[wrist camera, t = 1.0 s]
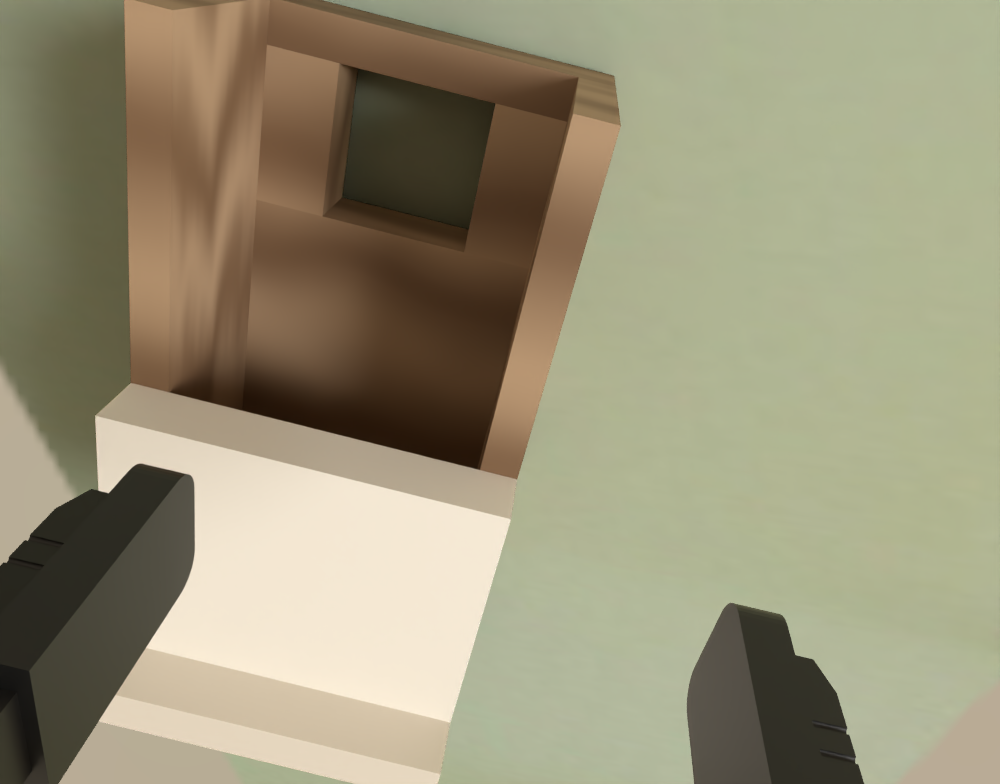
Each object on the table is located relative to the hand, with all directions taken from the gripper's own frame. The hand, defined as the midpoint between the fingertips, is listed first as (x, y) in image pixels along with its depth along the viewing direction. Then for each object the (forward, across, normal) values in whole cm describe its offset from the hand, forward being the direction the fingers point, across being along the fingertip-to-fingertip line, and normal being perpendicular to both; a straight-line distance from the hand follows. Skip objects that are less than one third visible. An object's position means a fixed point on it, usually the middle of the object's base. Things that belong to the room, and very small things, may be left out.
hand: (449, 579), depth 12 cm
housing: (+20, +5, +6) cm, 22 cm away
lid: (+11, +5, +12) cm, 17 cm away
